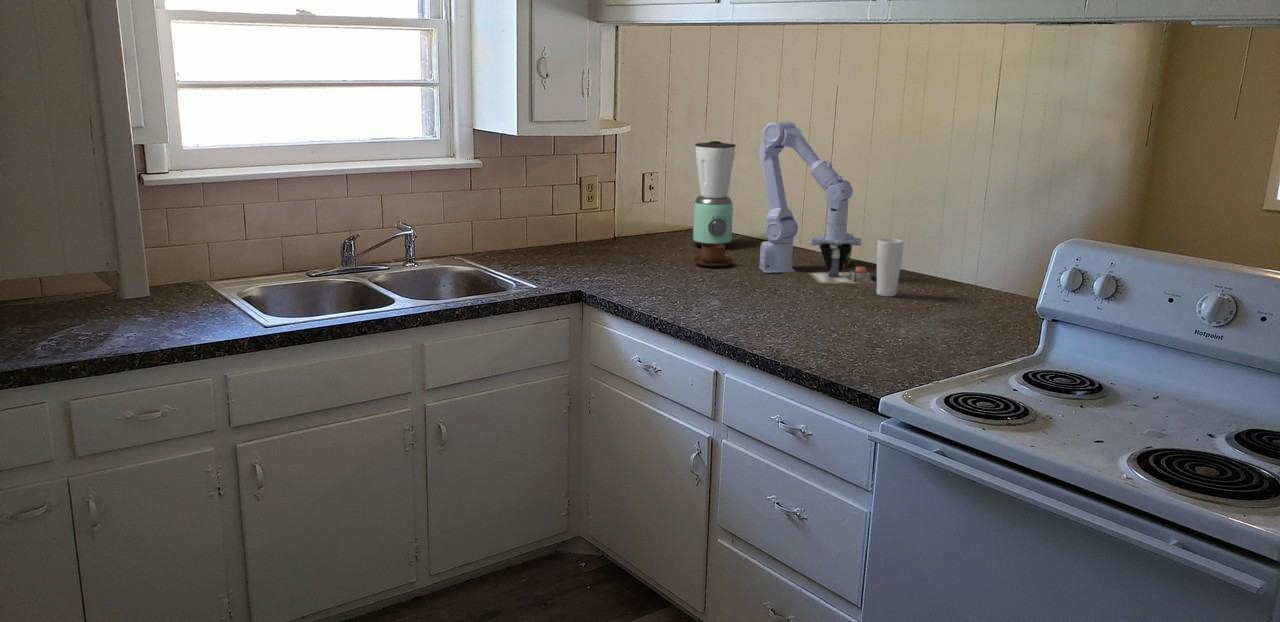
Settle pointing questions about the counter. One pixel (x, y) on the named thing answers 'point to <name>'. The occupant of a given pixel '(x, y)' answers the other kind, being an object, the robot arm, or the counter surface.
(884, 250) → the drinking glass
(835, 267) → the cylinder
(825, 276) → the control panel
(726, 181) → the mint green blender
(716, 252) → the cup and saucer
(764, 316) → the counter surface
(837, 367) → the counter surface
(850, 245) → the food container
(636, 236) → the counter surface
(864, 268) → the button
